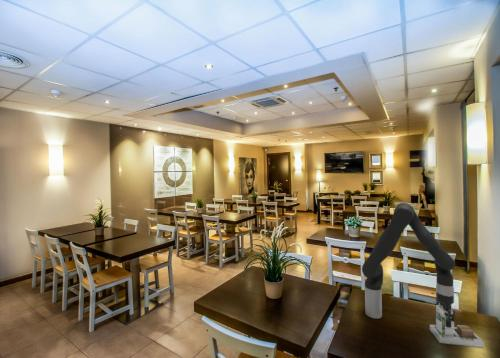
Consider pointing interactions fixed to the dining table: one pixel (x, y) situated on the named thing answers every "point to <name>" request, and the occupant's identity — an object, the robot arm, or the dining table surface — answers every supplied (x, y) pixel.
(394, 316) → the dining table surface
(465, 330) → the walnut block
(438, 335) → the white compartment tray
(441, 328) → the syrup box
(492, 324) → the dining table surface
